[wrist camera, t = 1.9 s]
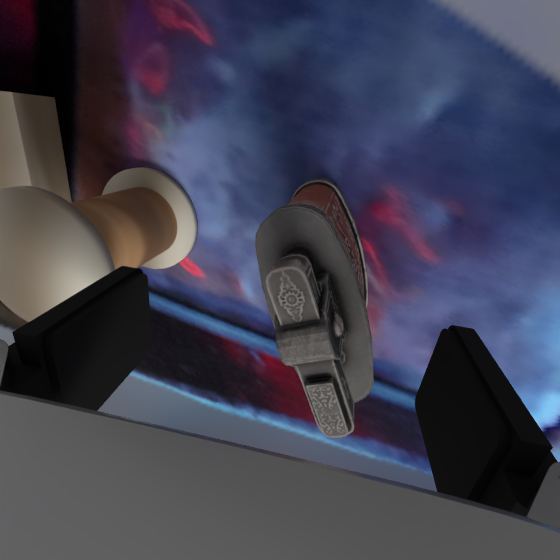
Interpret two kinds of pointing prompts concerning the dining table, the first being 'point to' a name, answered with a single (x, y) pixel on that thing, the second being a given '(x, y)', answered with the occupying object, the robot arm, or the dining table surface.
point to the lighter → (319, 300)
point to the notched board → (31, 144)
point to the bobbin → (89, 236)
